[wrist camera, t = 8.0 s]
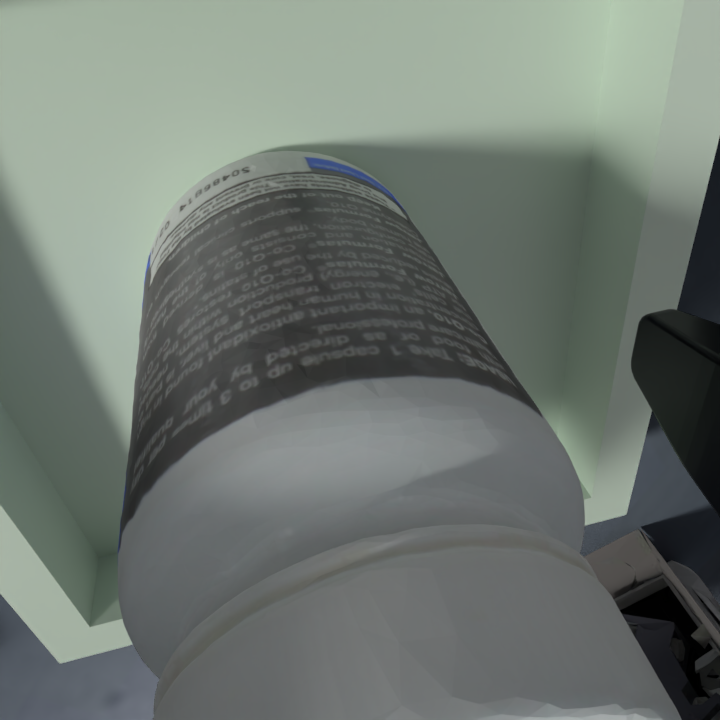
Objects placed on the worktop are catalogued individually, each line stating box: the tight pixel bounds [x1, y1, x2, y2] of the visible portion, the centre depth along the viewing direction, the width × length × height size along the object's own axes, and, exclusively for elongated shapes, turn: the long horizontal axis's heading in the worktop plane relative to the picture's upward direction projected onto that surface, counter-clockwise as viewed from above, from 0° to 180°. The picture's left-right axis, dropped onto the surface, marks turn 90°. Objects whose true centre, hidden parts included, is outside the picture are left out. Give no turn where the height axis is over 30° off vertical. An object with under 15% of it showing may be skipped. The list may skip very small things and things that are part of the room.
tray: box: [0, 0, 720, 663], centre depth 11 cm, size 13×13×2 cm
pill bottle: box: [118, 151, 682, 720], centre depth 8 cm, size 5×5×8 cm
